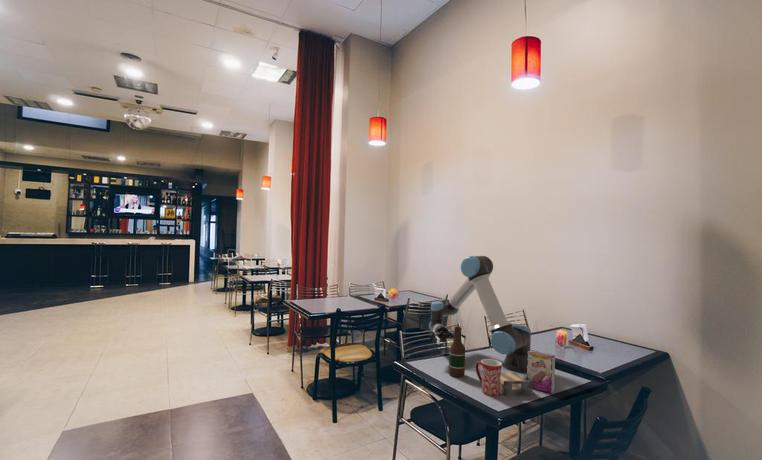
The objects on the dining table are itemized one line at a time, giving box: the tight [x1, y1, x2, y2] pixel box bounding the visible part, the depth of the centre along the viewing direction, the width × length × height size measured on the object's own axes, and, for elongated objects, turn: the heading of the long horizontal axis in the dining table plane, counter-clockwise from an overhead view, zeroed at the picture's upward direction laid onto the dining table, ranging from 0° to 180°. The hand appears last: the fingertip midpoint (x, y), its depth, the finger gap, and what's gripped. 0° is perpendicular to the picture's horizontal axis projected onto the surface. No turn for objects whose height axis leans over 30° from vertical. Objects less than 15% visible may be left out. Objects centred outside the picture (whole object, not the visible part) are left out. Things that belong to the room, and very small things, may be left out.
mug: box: [475, 358, 503, 397], centre depth 158 cm, size 13×9×14 cm
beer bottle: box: [448, 325, 466, 378], centre depth 178 cm, size 8×8×24 cm
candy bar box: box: [526, 349, 556, 395], centre depth 163 cm, size 11×5×16 cm, turn 49°
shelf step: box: [499, 372, 533, 396], centre depth 163 cm, size 13×16×6 cm
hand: (452, 341), depth 185 cm, fingers open, 13 cm apart
